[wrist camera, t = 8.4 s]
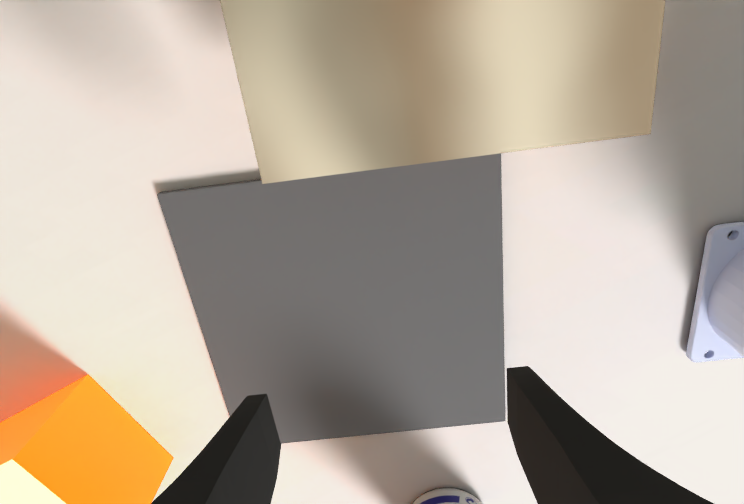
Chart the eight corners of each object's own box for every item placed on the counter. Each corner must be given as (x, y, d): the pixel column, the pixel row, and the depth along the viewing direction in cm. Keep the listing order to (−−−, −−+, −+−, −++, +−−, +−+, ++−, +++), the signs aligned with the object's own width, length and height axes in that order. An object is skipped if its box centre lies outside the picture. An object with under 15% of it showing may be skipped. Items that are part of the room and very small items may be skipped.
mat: (498, 148, 21) (500, 150, 20) (503, 416, 27) (505, 421, 27) (160, 191, 22) (157, 194, 21) (241, 442, 28) (240, 447, 28)
